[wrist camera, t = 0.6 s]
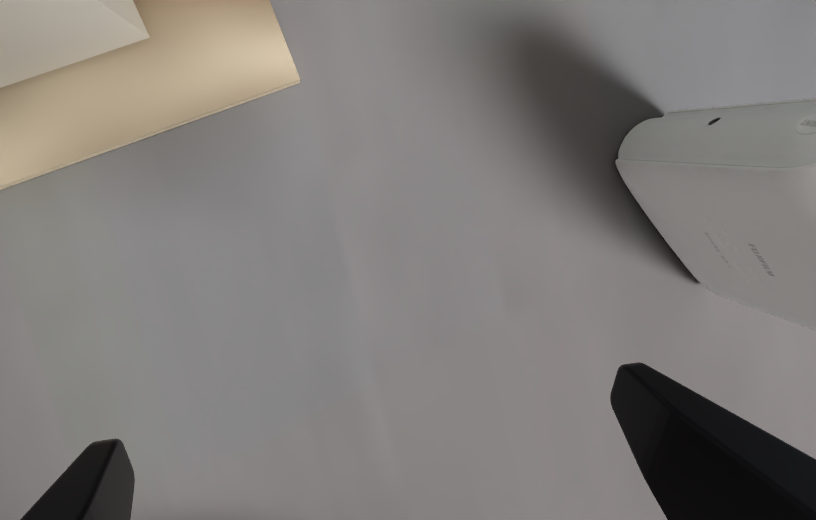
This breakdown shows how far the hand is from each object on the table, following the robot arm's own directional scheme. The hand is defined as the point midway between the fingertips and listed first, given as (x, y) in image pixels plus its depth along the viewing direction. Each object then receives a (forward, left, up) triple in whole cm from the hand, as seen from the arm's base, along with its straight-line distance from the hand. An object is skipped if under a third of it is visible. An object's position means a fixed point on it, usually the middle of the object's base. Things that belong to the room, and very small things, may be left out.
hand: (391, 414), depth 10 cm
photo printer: (+5, -17, -15) cm, 24 cm away
